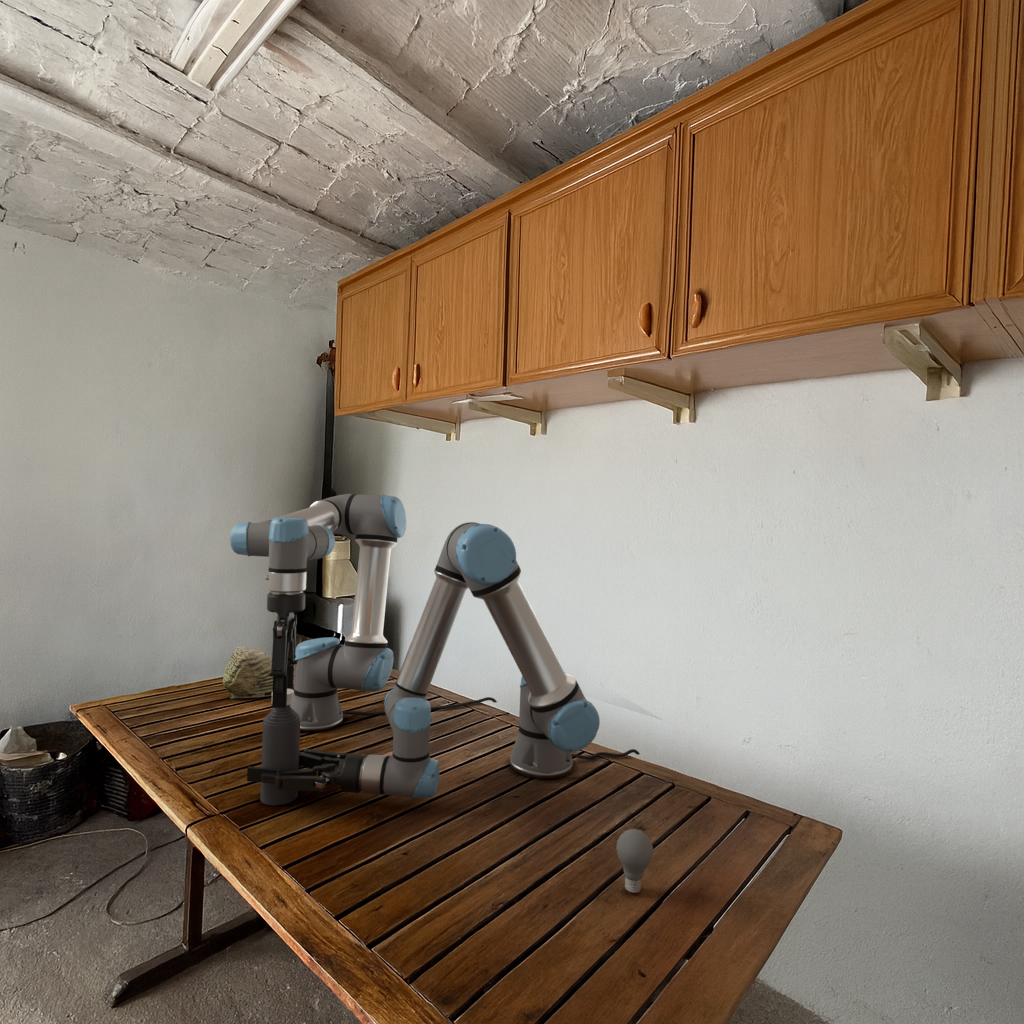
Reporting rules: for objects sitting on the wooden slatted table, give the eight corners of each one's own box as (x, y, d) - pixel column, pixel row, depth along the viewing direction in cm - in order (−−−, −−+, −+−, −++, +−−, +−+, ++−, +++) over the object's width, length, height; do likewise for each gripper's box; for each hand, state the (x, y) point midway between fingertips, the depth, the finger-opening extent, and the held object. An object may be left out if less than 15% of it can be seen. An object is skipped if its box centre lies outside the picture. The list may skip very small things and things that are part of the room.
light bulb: (610, 879, 108) (613, 822, 108) (644, 879, 109) (647, 822, 109) (619, 902, 102) (622, 840, 102) (655, 901, 103) (658, 840, 103)
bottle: (278, 808, 128) (282, 702, 128) (252, 799, 131) (256, 695, 131) (305, 794, 135) (309, 693, 134) (279, 786, 138) (283, 687, 137)
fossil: (218, 695, 195) (220, 647, 195) (278, 685, 208) (279, 640, 207) (228, 703, 189) (230, 653, 188) (289, 692, 201) (290, 645, 201)
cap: (267, 702, 132) (267, 691, 132) (285, 698, 136) (286, 687, 136) (279, 707, 129) (279, 696, 129) (297, 702, 133) (298, 691, 133)
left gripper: (277, 584, 141) (273, 687, 141) (257, 599, 122) (252, 717, 122) (311, 585, 142) (308, 687, 143) (297, 599, 123) (293, 717, 124)
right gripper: (347, 815, 121) (232, 806, 123) (377, 770, 142) (278, 763, 143) (348, 776, 121) (233, 768, 123) (378, 737, 142) (279, 730, 143)
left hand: (282, 701), depth 133 cm, fingers open, 7 cm apart
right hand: (257, 765), depth 133 cm, fingers closed on bottle, 7 cm apart
